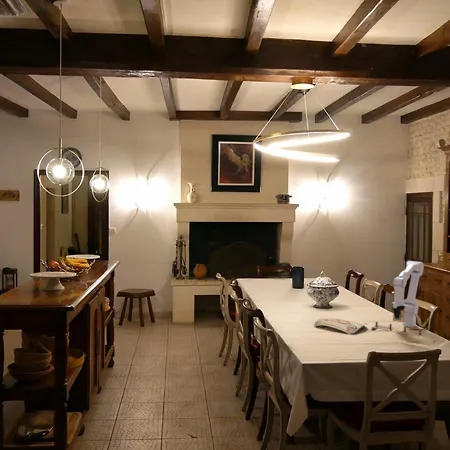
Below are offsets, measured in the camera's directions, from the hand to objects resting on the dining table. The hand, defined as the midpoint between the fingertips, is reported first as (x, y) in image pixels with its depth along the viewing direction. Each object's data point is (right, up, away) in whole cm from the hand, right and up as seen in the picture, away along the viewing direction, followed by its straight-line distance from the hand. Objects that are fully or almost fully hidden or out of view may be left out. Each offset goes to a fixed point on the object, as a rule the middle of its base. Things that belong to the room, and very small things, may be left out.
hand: (398, 317), depth 322 cm
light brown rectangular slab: (0, -2, 0) cm, 2 cm away
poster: (-34, -9, +12) cm, 37 cm away
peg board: (0, -10, +1) cm, 10 cm away
